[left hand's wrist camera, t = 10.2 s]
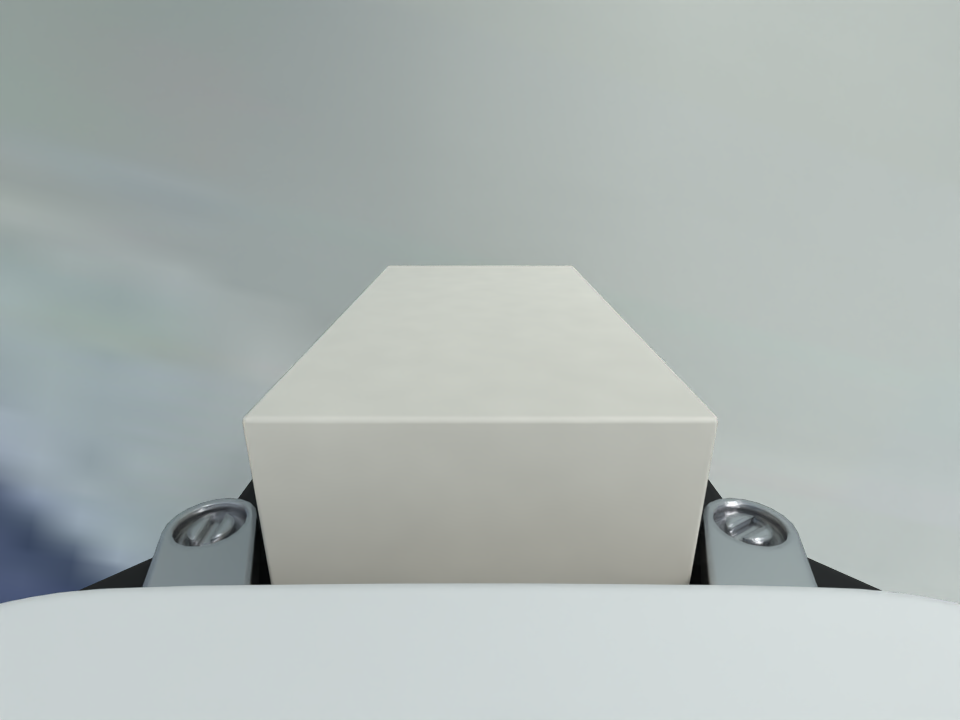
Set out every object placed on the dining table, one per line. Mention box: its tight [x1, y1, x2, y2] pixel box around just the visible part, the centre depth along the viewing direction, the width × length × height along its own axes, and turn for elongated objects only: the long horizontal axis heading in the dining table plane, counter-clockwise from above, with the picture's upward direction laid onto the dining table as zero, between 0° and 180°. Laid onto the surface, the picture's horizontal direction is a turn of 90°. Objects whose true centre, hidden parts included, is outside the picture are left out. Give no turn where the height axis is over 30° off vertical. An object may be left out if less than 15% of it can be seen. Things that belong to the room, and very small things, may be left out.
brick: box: [243, 266, 718, 585], centre depth 12 cm, size 5×6×10 cm
